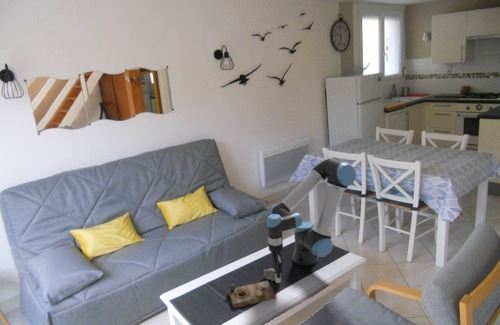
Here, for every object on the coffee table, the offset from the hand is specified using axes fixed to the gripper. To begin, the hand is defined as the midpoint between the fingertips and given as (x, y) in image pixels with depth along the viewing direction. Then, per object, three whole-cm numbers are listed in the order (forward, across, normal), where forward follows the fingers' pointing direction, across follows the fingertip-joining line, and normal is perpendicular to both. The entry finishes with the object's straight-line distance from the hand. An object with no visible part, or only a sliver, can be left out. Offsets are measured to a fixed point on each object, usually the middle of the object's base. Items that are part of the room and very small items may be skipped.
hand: (278, 281), depth 207 cm
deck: (+1, +5, -16) cm, 17 cm away
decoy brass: (-3, +10, -14) cm, 17 cm away
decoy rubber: (-3, 0, -26) cm, 26 cm away
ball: (-3, +5, -10) cm, 11 cm away
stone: (+2, -7, -1) cm, 7 cm away
